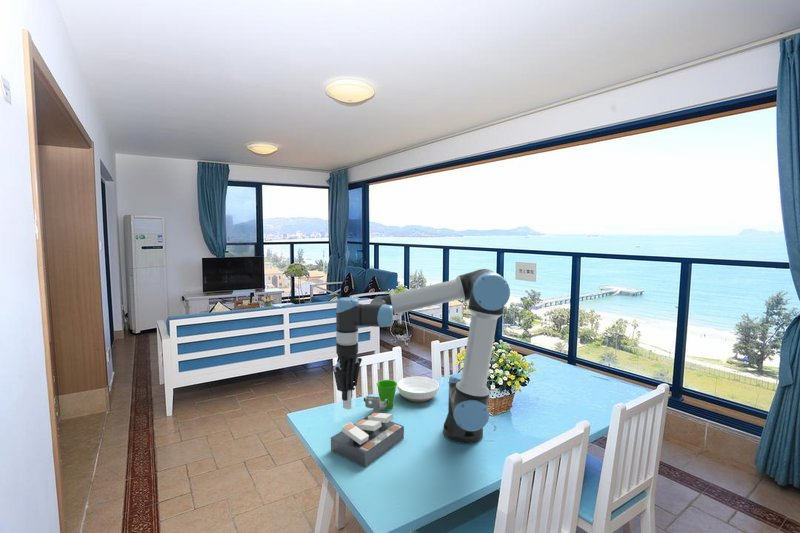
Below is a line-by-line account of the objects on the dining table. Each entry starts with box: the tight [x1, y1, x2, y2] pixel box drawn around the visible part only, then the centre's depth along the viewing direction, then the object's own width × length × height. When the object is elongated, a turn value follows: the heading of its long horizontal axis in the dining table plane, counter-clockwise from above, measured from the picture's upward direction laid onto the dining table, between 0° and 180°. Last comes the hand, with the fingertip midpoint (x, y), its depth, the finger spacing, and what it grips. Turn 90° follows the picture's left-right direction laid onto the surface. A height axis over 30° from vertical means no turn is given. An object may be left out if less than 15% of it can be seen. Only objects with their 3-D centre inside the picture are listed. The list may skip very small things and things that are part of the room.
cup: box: [376, 379, 398, 411], centre depth 171 cm, size 9×9×11 cm
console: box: [330, 413, 405, 468], centre depth 142 cm, size 16×22×6 cm
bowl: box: [396, 375, 440, 403], centre depth 183 cm, size 20×20×6 cm
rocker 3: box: [367, 412, 394, 423], centre depth 147 cm, size 9×4×2 cm, turn 54°
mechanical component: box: [363, 395, 389, 413], centre depth 158 cm, size 3×10×10 cm, turn 78°
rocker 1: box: [341, 421, 369, 445], centre depth 136 cm, size 9×4×2 cm, turn 54°
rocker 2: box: [354, 419, 382, 431], centre depth 141 cm, size 9×4×2 cm, turn 54°
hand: (347, 407), depth 137 cm, fingers closed
